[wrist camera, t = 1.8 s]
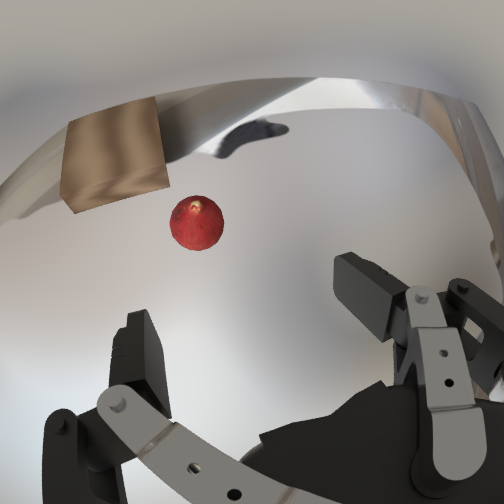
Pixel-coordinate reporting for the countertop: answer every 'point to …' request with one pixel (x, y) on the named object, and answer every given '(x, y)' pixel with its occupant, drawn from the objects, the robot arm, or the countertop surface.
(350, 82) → the countertop surface
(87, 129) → the walnut base
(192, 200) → the onion
